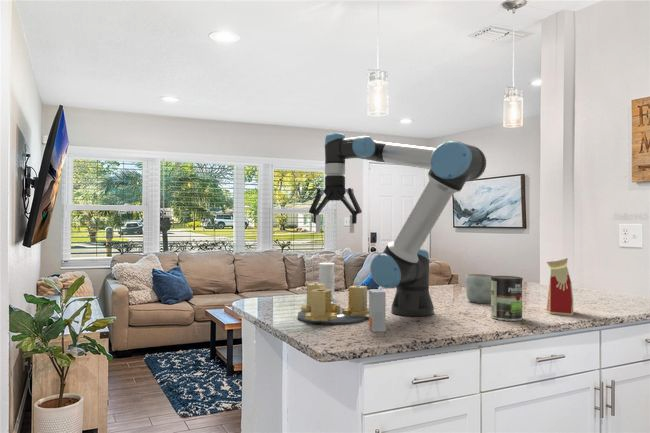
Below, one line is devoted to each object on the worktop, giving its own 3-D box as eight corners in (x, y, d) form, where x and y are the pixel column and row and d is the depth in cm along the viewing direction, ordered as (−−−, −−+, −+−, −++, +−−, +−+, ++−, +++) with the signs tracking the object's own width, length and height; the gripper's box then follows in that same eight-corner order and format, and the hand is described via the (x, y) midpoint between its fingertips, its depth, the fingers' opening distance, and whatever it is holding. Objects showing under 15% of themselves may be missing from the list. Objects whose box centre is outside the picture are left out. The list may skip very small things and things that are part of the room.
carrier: (379, 315, 182) (379, 283, 182) (357, 327, 161) (357, 291, 161) (309, 309, 193) (309, 279, 193) (280, 320, 172) (280, 287, 172)
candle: (317, 299, 216) (317, 264, 216) (319, 297, 223) (320, 262, 223) (333, 300, 215) (333, 264, 215) (335, 297, 222) (335, 262, 222)
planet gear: (330, 322, 161) (330, 293, 161) (297, 319, 166) (298, 291, 166) (343, 316, 172) (343, 289, 172) (312, 313, 176) (312, 287, 176)
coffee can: (529, 319, 175) (529, 277, 175) (507, 322, 171) (507, 279, 171) (505, 314, 184) (505, 274, 184) (484, 317, 180) (484, 276, 180)
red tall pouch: (573, 311, 191) (573, 257, 191) (573, 316, 182) (573, 259, 182) (546, 309, 194) (546, 256, 194) (545, 313, 186) (545, 258, 186)
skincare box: (368, 327, 161) (368, 289, 161) (382, 327, 161) (382, 289, 161) (371, 332, 155) (372, 292, 155) (386, 331, 155) (386, 291, 155)
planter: (501, 304, 206) (501, 277, 206) (470, 304, 206) (470, 277, 206) (491, 299, 219) (491, 273, 219) (462, 299, 219) (462, 273, 219)
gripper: (370, 175, 192) (369, 232, 191) (308, 177, 201) (308, 231, 201) (363, 173, 185) (363, 233, 185) (300, 175, 195) (300, 232, 194)
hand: (334, 232), depth 193 cm, fingers open, 13 cm apart
